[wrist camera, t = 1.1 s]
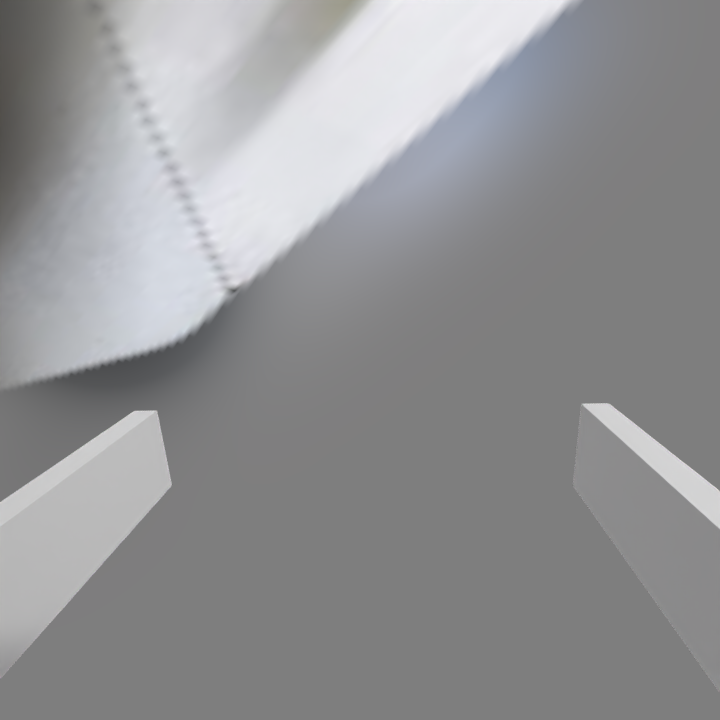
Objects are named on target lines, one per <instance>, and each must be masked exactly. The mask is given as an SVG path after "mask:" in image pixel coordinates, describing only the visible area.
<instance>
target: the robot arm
mask: <svg viewBox="0 0 720 720" xmlns="http://www.w3.org/2000/svg"><path fill="white" fill-rule="evenodd" d="M171 486H172V483H171V478H170V473H169V468H168V463H167V458H166V453H165V448H164V444H163V438H162V433H161V428H160V423H159V418H158V413H157V411H134V412H132V413H131V414H129V415H128V416H127V417H125V418H124V419H122V420H121V421H119V422H118V423H116V424H115V425H113V426H112V427H110V428H109V429H107V430H106V431H105V432H103V433H101V434H100V435H98V436H97V437H95V438H94V439H93V440H91V441H90V442H88V443H87V444H85V445H84V446H83V447H81V448H79V449H78V450H76V451H75V452H73V453H72V454H70V455H69V456H67V457H66V458H65V459H63V460H62V461H60V462H59V463H57V464H56V465H54V466H53V467H51V468H50V469H48V470H47V471H45V472H44V473H43V474H41V475H40V476H38V477H37V478H35V479H34V480H32V481H31V482H29V483H28V484H26V485H25V486H23V487H22V488H20V489H19V490H17V491H16V492H15V493H13V494H11V495H10V496H8V497H7V498H6V499H4V500H3V501H1V502H0V679H1V678H2V676H3V675H4V674H5V673H6V672H7V671H8V669H10V667H11V666H12V665H13V664H14V663H15V662H16V661H17V660H18V658H19V657H20V656H21V655H22V654H23V653H24V652H25V651H26V649H27V648H28V647H29V646H30V645H31V644H32V643H33V642H34V640H35V639H36V638H37V637H38V636H39V635H40V633H42V631H43V630H44V629H45V628H46V627H47V626H48V625H49V624H50V622H51V621H52V620H53V619H54V618H55V617H56V616H57V615H58V613H59V612H60V611H61V610H62V609H63V608H64V607H65V606H66V604H67V603H68V602H69V601H70V600H71V599H72V598H73V596H74V595H75V594H76V593H77V592H78V591H79V590H80V589H81V587H82V586H83V585H84V584H85V583H86V582H87V581H88V579H89V578H90V577H91V576H92V575H93V574H94V573H95V572H96V571H97V569H98V568H99V567H100V566H101V565H102V564H103V563H104V562H105V560H106V559H107V558H108V557H109V556H110V555H111V554H112V553H113V551H114V550H115V549H116V548H117V547H118V546H119V545H120V543H121V542H122V541H123V540H124V539H125V538H126V537H127V536H128V535H129V533H130V532H131V531H132V530H133V529H134V528H135V527H136V526H137V524H138V523H139V522H140V521H141V520H142V519H143V518H144V516H145V515H146V514H147V513H148V512H149V511H150V510H151V509H152V507H153V506H154V505H155V504H156V503H157V502H158V501H159V500H160V498H161V497H162V496H163V495H164V494H165V493H166V492H167V491H168V489H169V488H170V487H171ZM573 486H574V488H575V489H576V491H577V492H578V494H579V495H580V496H581V498H582V499H583V500H584V502H585V503H586V505H587V506H588V508H589V509H590V511H591V512H592V513H593V515H594V516H595V517H596V519H597V520H598V522H599V523H600V524H601V526H602V527H603V529H604V530H605V532H606V533H607V534H608V536H609V537H610V539H611V540H612V542H613V543H614V544H615V546H616V547H617V548H618V550H619V551H620V553H621V554H622V556H623V557H624V558H625V560H626V561H627V563H628V564H629V565H630V567H631V568H632V569H633V571H634V572H635V574H636V575H637V577H638V578H639V579H640V581H641V582H642V584H643V585H644V586H645V588H646V589H647V591H648V592H649V593H650V595H651V596H652V598H653V599H654V601H655V602H656V604H657V605H658V606H659V608H660V609H661V611H662V612H663V613H664V615H665V616H666V618H667V619H668V620H669V622H670V623H671V625H672V626H673V627H674V629H675V630H676V632H677V633H678V635H679V636H680V637H681V639H682V640H683V642H684V643H685V644H686V646H687V647H688V649H689V650H690V651H691V653H692V654H693V656H694V657H695V658H696V660H697V661H698V663H699V664H700V665H701V667H702V668H703V670H704V671H705V673H706V674H707V675H708V677H709V678H710V679H711V681H712V682H713V684H714V685H715V686H716V688H717V689H718V691H719V692H720V491H719V490H718V489H717V488H715V487H714V486H713V485H711V484H710V483H709V482H708V481H706V480H705V479H704V478H703V477H701V476H700V475H699V474H697V473H696V472H695V471H694V470H692V469H691V468H690V467H689V466H687V465H686V464H685V463H684V462H682V461H681V460H680V459H678V458H677V457H676V456H674V455H673V454H672V453H671V452H669V451H668V450H667V449H666V448H665V447H663V446H662V445H661V444H659V443H658V442H657V441H656V440H654V439H653V438H652V437H650V436H649V435H648V434H647V433H646V432H644V431H643V430H642V429H641V428H639V427H638V426H637V425H635V424H634V423H633V422H632V421H630V420H629V419H627V417H625V416H624V415H623V414H621V413H620V412H619V411H618V410H616V409H615V408H614V407H613V406H611V405H610V404H608V403H607V404H606V403H605V404H581V414H580V422H579V432H578V442H577V452H576V461H575V470H574V480H573Z"/></svg>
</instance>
